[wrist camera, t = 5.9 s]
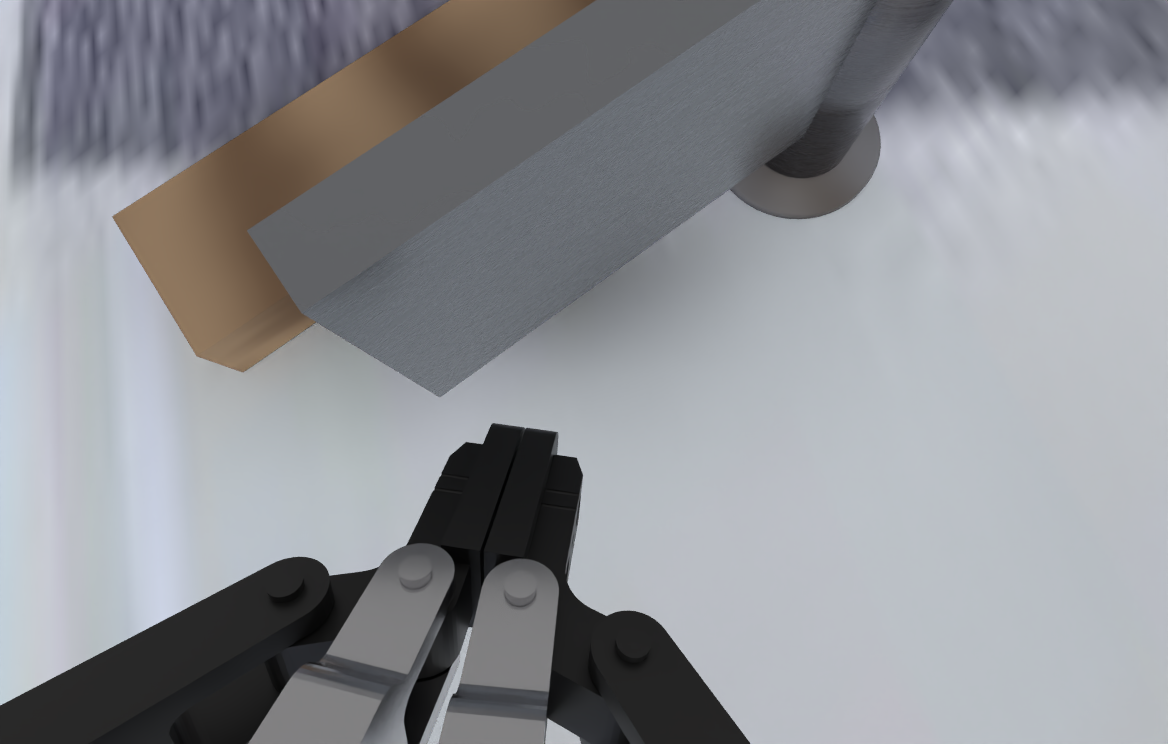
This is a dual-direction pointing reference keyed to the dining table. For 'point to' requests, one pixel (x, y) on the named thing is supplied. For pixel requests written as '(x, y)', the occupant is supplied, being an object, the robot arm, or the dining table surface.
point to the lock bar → (577, 166)
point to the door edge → (340, 135)
